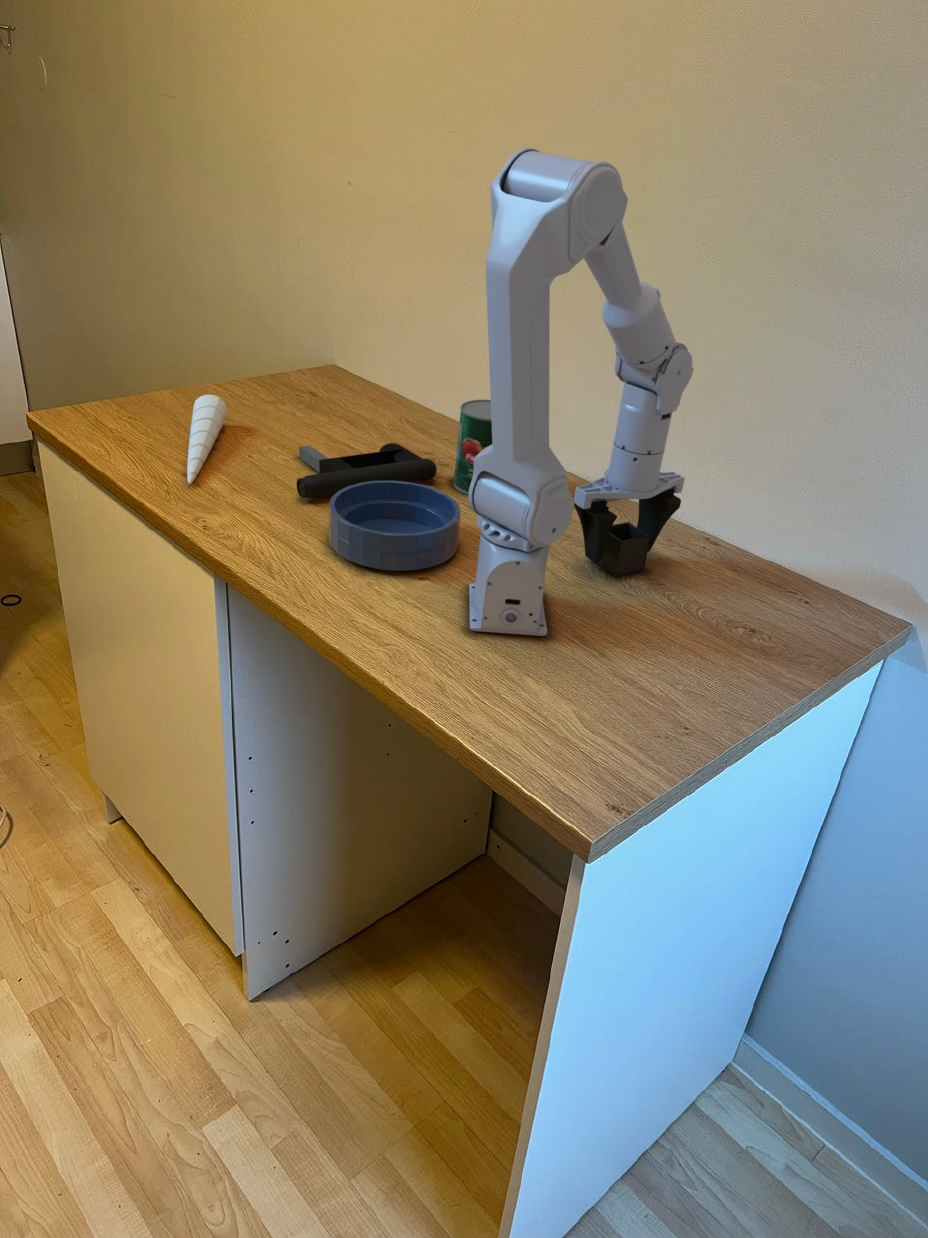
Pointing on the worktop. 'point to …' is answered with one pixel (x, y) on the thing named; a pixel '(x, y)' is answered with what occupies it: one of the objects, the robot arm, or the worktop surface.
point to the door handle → (361, 469)
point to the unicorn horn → (204, 431)
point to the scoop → (625, 550)
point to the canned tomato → (471, 440)
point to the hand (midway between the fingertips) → (617, 553)
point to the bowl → (393, 525)
